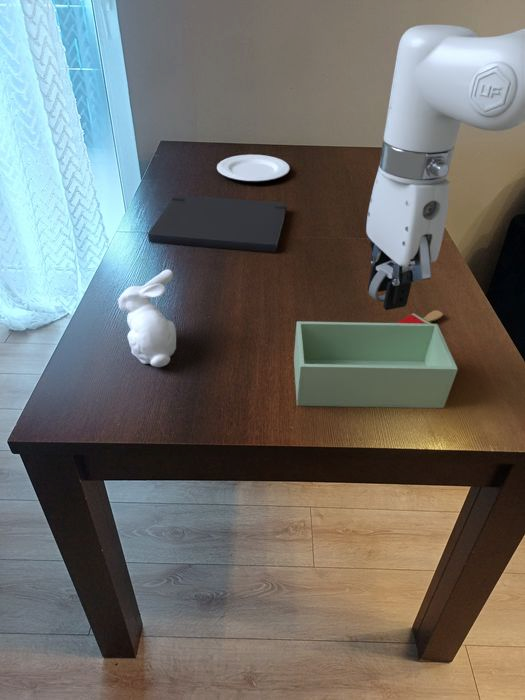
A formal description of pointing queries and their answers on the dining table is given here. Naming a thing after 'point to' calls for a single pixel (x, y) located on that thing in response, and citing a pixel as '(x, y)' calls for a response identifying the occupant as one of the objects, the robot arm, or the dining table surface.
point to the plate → (253, 168)
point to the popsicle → (419, 320)
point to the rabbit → (149, 322)
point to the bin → (372, 365)
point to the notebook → (220, 223)
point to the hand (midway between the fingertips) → (386, 297)
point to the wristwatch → (382, 272)
